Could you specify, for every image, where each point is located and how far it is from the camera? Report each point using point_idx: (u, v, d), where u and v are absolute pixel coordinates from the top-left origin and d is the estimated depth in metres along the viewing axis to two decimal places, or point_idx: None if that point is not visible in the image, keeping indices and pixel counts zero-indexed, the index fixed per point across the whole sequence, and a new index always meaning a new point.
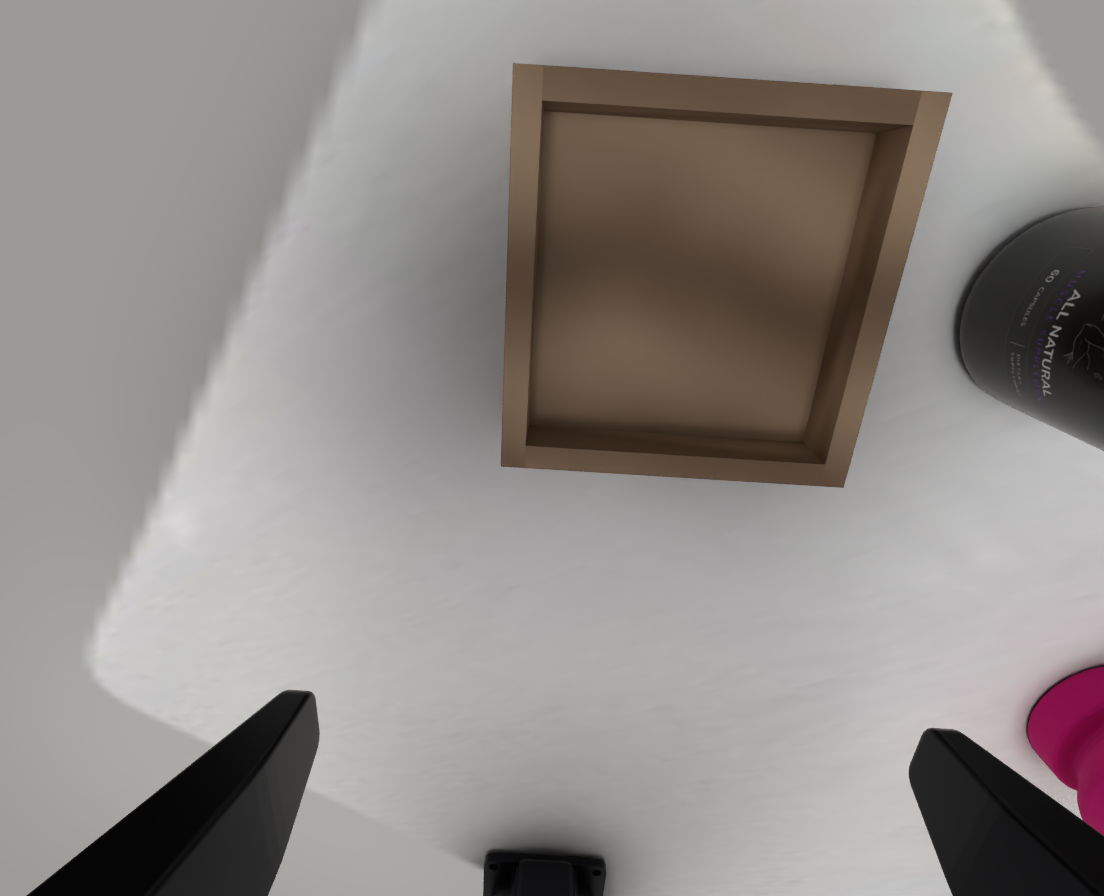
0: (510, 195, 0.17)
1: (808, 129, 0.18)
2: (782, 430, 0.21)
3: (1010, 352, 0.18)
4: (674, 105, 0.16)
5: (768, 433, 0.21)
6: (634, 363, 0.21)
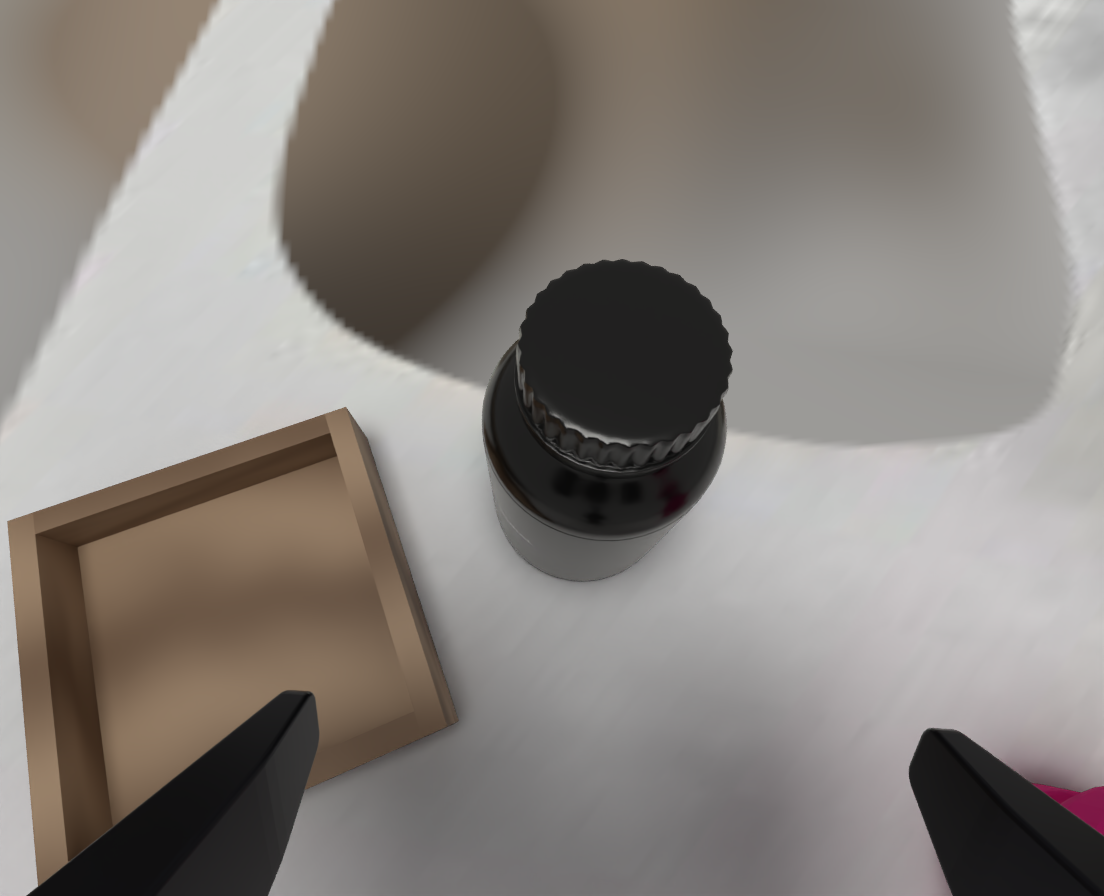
0: (15, 611, 0.19)
1: (294, 471, 0.23)
2: (397, 706, 0.20)
3: (510, 532, 0.20)
4: (145, 493, 0.20)
5: (385, 717, 0.20)
6: (215, 713, 0.20)
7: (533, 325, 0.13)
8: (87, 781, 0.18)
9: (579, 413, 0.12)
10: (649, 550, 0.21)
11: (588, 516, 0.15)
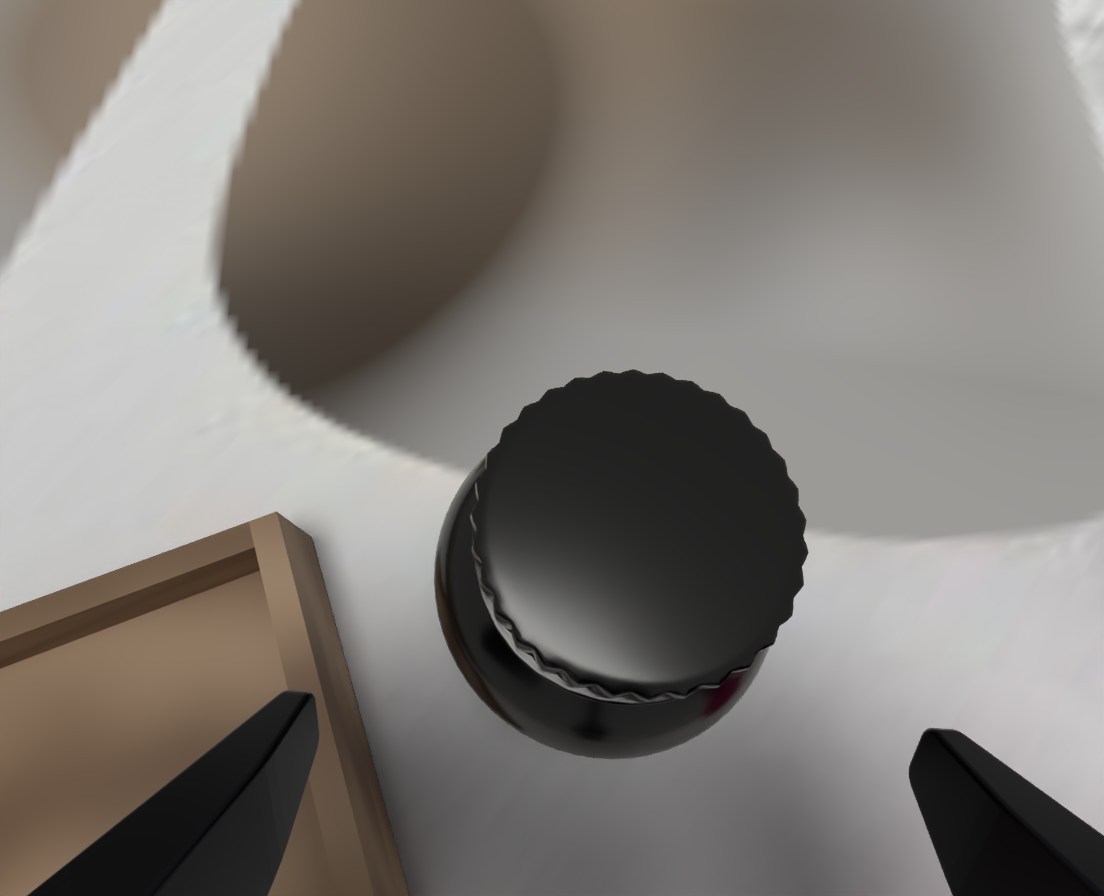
0: None
1: (215, 587, 0.18)
2: None
3: None
4: (7, 635, 0.16)
5: None
6: None
7: (496, 483, 0.08)
8: None
9: (568, 638, 0.08)
10: None
11: (584, 739, 0.10)
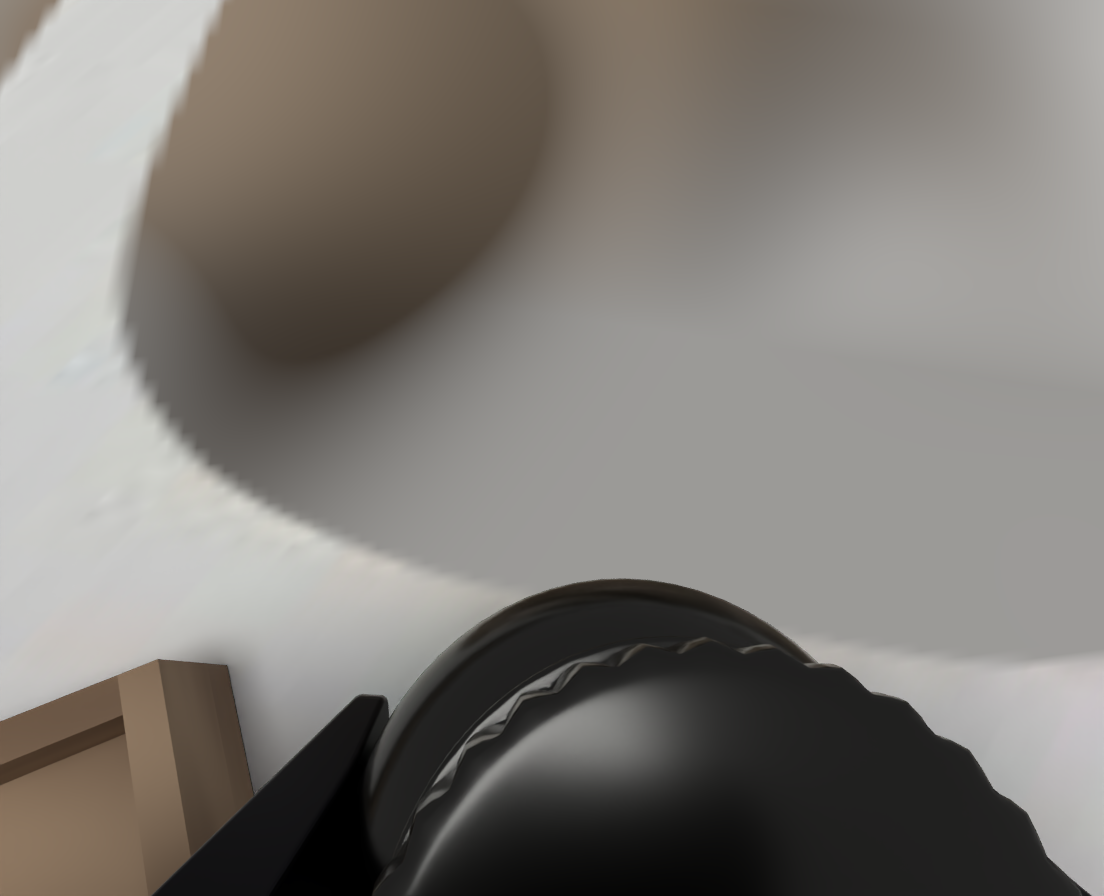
0: None
1: (84, 751, 0.13)
2: None
3: None
4: None
5: None
6: None
7: None
8: None
9: None
10: None
11: None
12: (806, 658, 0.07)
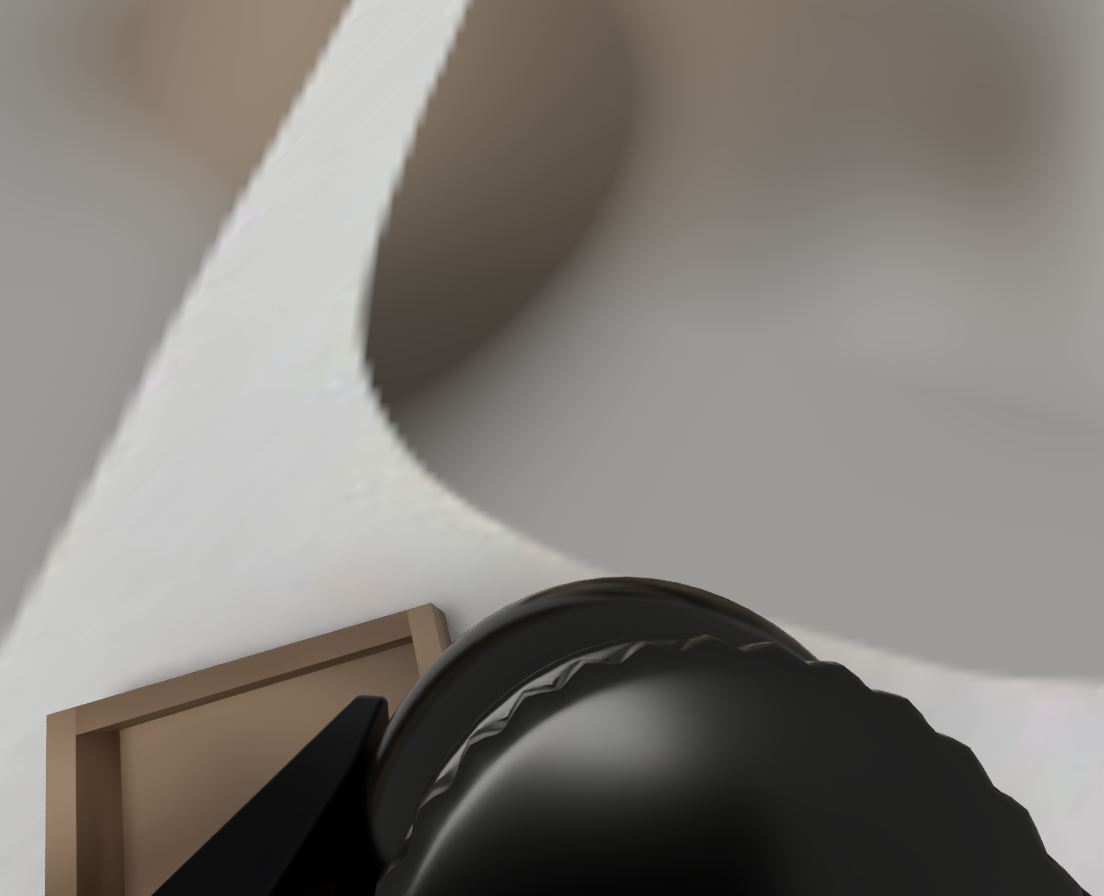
0: (46, 835, 0.16)
1: (363, 657, 0.20)
2: None
3: None
4: (200, 694, 0.18)
5: None
6: None
7: None
8: None
9: None
10: None
11: None
12: (808, 656, 0.07)
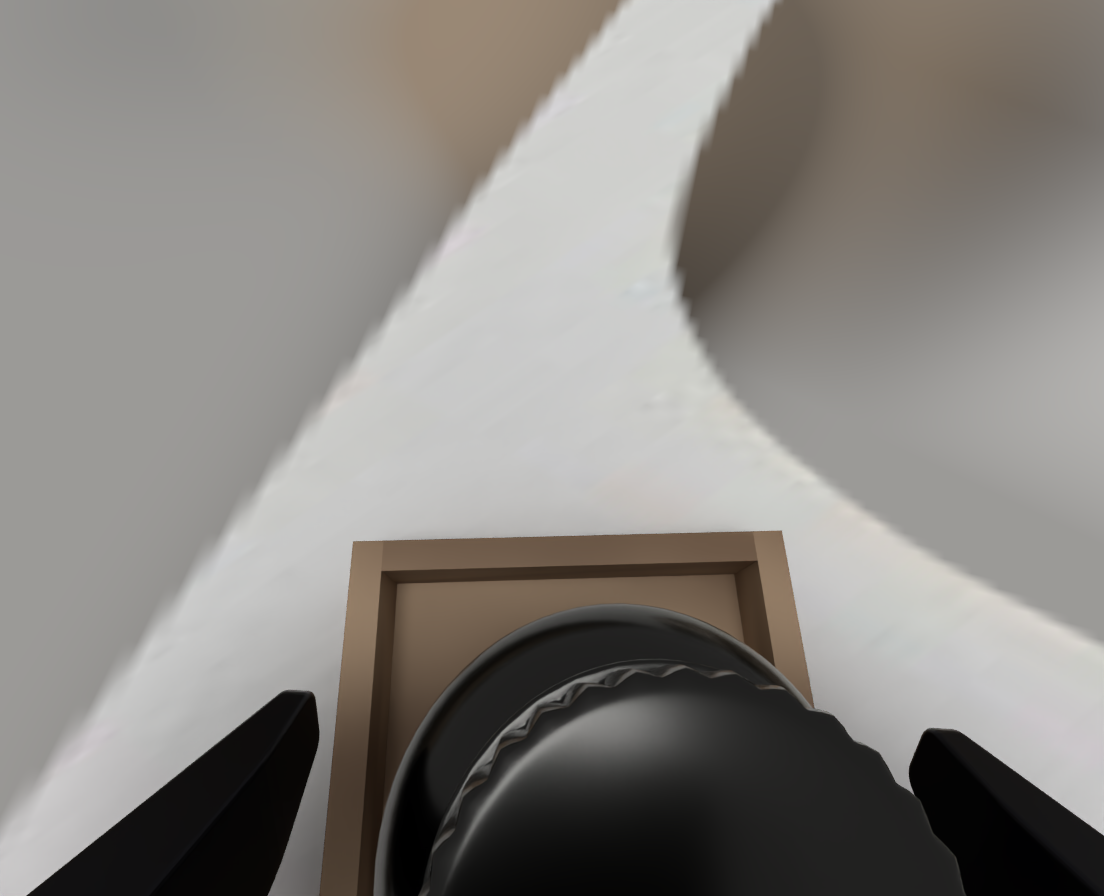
0: (342, 669, 0.15)
1: (666, 576, 0.18)
2: None
3: None
4: (517, 563, 0.16)
5: None
6: None
7: None
8: None
9: None
10: None
11: None
12: (775, 674, 0.08)
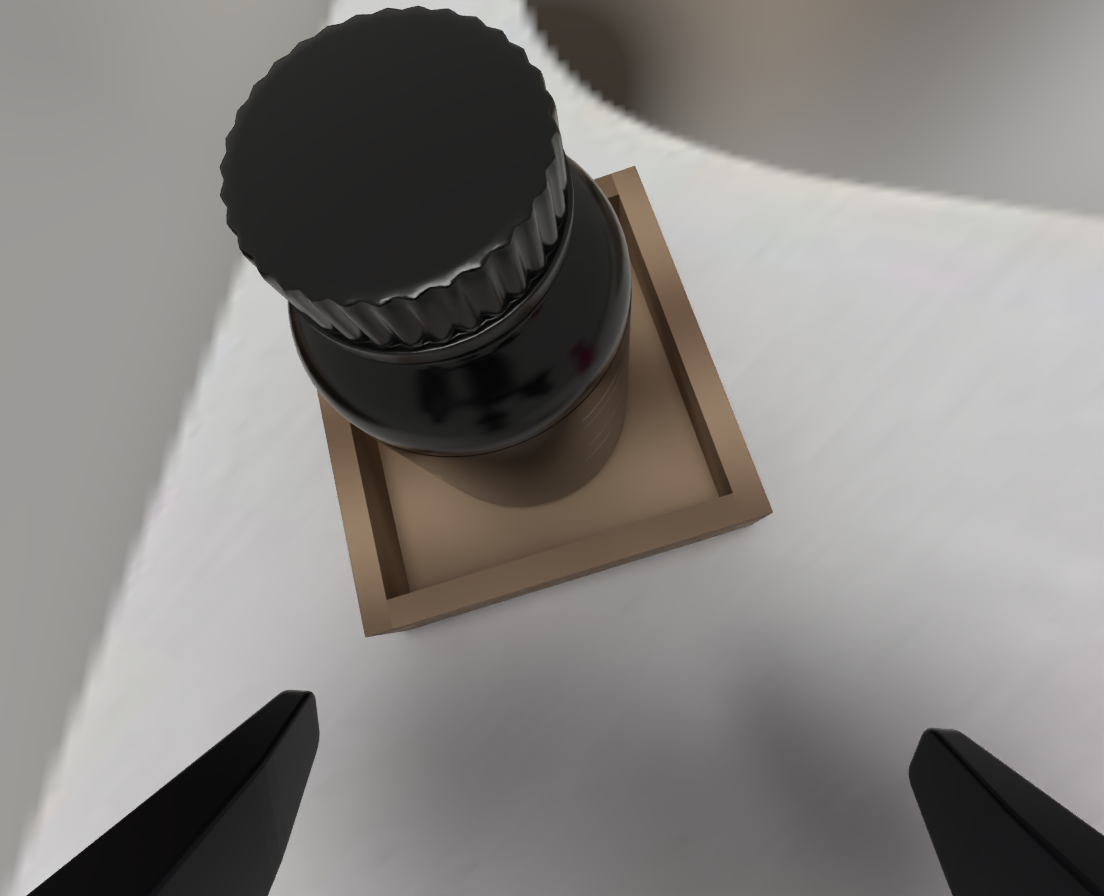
0: None
1: None
2: (690, 499, 0.18)
3: None
4: None
5: (677, 508, 0.18)
6: None
7: (236, 159, 0.08)
8: (387, 536, 0.18)
9: (327, 270, 0.08)
10: (610, 444, 0.17)
11: (450, 425, 0.10)
12: None
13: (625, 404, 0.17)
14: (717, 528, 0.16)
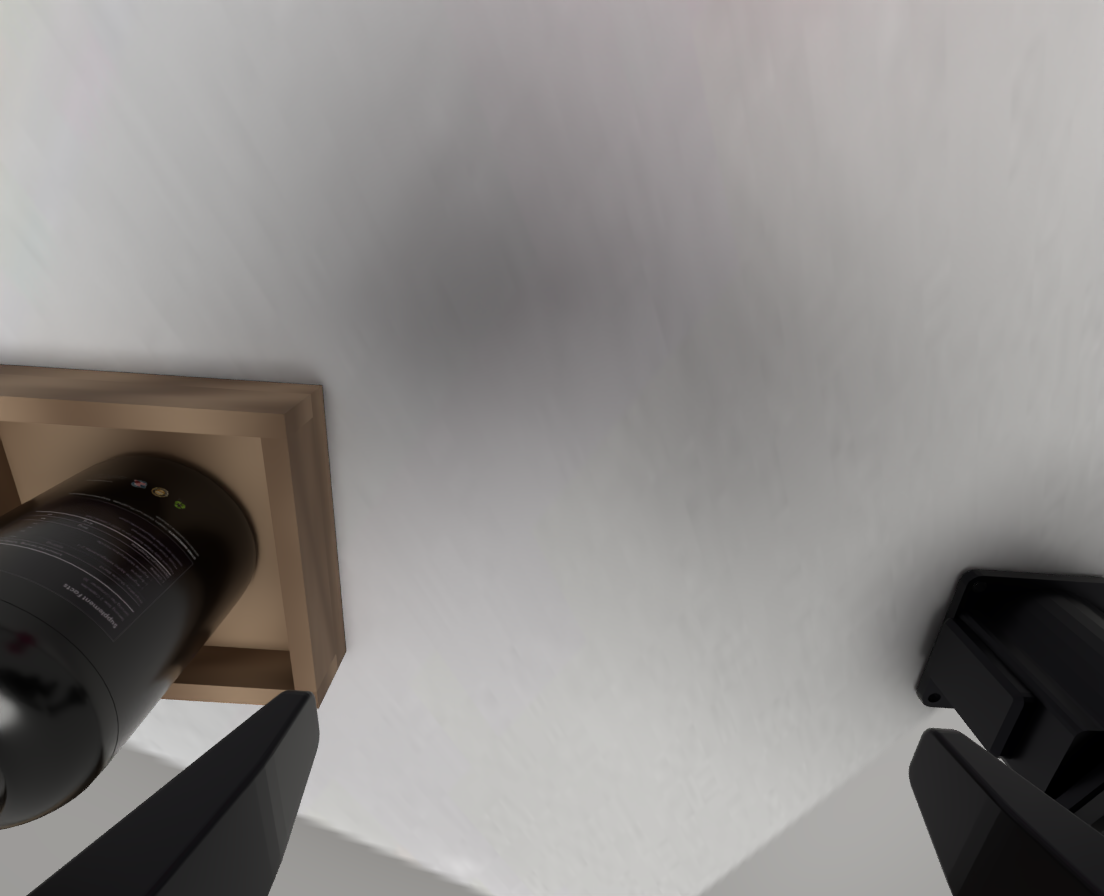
0: None
1: (6, 452, 0.20)
2: None
3: None
4: None
5: None
6: None
7: None
8: (256, 665, 0.23)
9: None
10: (197, 513, 0.19)
11: (72, 765, 0.14)
12: None
13: (158, 495, 0.18)
14: (289, 460, 0.18)
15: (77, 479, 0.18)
